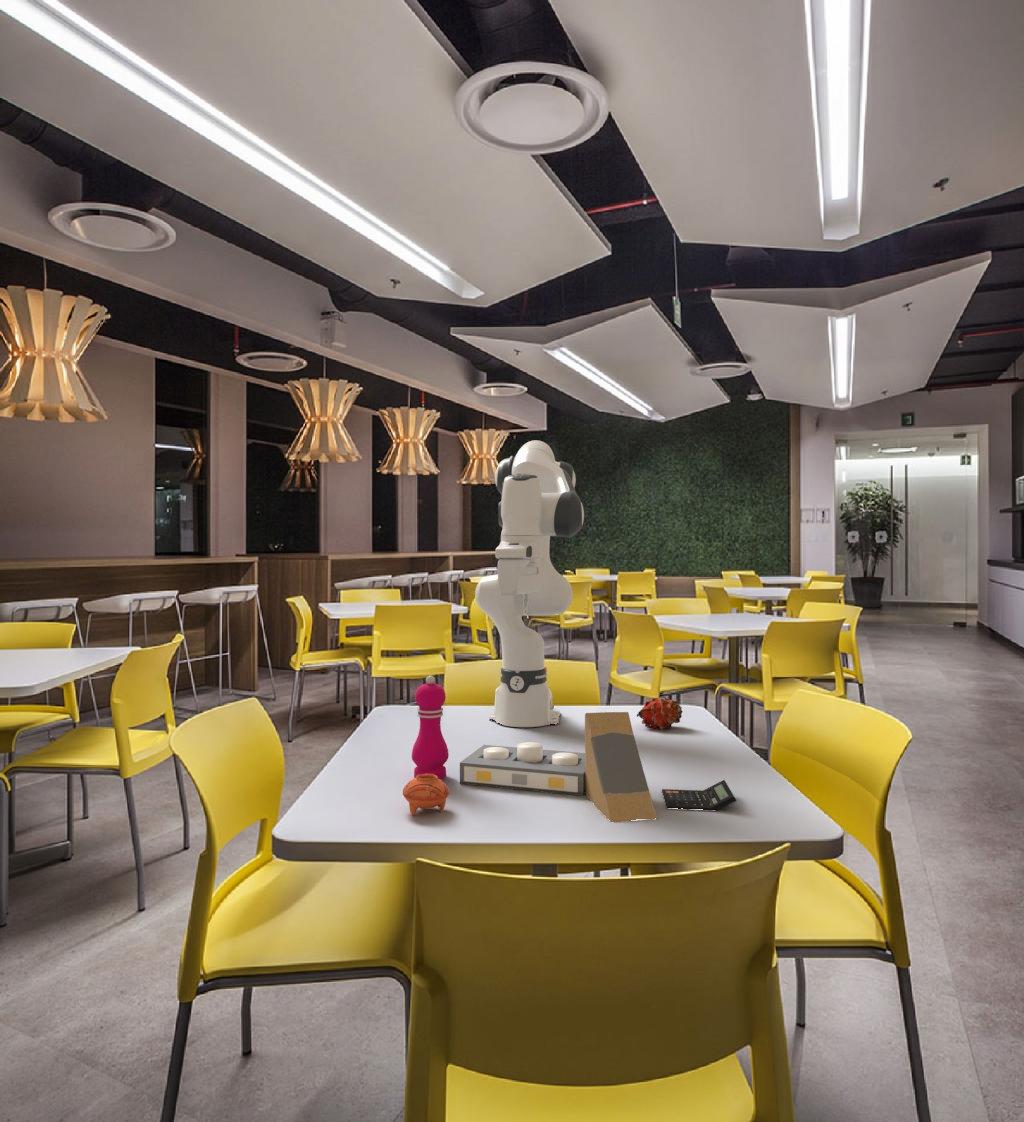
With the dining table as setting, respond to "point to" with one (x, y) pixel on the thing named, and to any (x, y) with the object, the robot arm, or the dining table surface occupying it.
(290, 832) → the dining table surface
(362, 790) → the dining table surface
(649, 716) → the dragon fruit
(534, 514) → the robot arm
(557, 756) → the button container side
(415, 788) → the pot
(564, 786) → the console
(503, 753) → the ball
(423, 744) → the pepper mill
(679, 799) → the calculator
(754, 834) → the dining table surface
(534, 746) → the button middle
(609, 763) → the sandwich container
